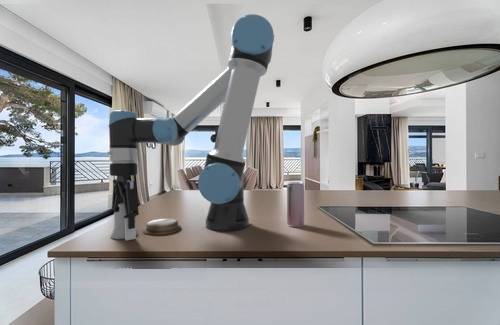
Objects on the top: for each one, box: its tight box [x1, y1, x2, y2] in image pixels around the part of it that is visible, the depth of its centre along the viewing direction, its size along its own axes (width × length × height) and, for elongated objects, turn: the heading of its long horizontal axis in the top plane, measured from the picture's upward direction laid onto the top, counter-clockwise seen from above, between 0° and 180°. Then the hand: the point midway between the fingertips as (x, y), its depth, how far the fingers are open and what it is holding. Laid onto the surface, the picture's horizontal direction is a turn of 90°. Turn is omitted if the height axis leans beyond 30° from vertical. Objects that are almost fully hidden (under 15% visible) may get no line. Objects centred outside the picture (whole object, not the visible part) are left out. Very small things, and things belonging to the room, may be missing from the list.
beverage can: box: [286, 181, 305, 228], centre depth 89 cm, size 6×6×15 cm
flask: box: [110, 203, 139, 240], centre depth 78 cm, size 7×7×10 cm
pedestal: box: [142, 218, 182, 236], centre depth 84 cm, size 12×12×3 cm
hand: (124, 235), depth 78 cm, fingers open, 10 cm apart
